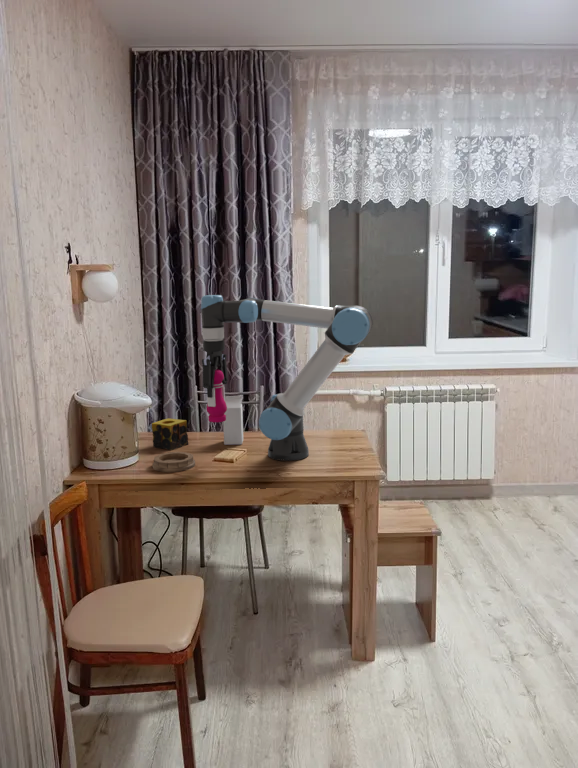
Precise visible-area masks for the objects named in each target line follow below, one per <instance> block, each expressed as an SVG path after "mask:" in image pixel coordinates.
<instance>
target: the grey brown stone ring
mask: <svg viewBox="0 0 578 768" xmlns="http://www.w3.org/2000/svg"><path fill="white" fill-rule="evenodd" d="M195 466H196V461H195V459H194V454H192V453H191V452H189V451H187V452H186V451H170V452H168V451H167V452H165V453H160V454H157V455H155V456H154V457H153V462H152V469H153V470H155V471H157V472H161V473H177V472H184V471H188V470H191V469H192V468H194V467H195Z"/></svg>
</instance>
